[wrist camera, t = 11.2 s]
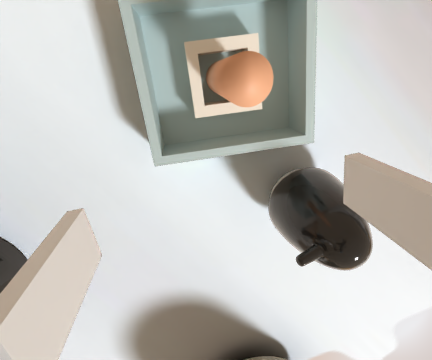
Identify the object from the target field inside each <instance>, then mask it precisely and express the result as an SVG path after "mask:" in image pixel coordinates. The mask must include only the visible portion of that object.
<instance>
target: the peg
mask: <svg viewBox="0 0 432 360" xmlns="http://www.w3.org/2000/svg"><path fill="white" fill-rule="evenodd" d="M273 78H274V76H273V70H272V67H271V65H270V63H269V61H268V60H267V59H266V58H265V57H264V56H263V55H261V54H260V53H257V52H254V51H243V52H240V53H237V54H235V55H232V56H230V57H227V58H224V59H222V60H219V61H217V62H214V63H213V64H212V65H211V66H210V67H209V68H208V70H207V73H206V82H207V85H208V86H209V88H210V89H211V90H212V91H213V92H215V93H217V94H218V95H220V96H222V97H223V98H225V99H227V100H228V101H230V102H232V103H233V104H235V105H237V106H240V107H253V106H256V105H258V104H260V103H261V102H262V101H264V100H265V99H266V97H267V96H268V95H269V93H270V91H271V89H272V86H273Z"/></svg>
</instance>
